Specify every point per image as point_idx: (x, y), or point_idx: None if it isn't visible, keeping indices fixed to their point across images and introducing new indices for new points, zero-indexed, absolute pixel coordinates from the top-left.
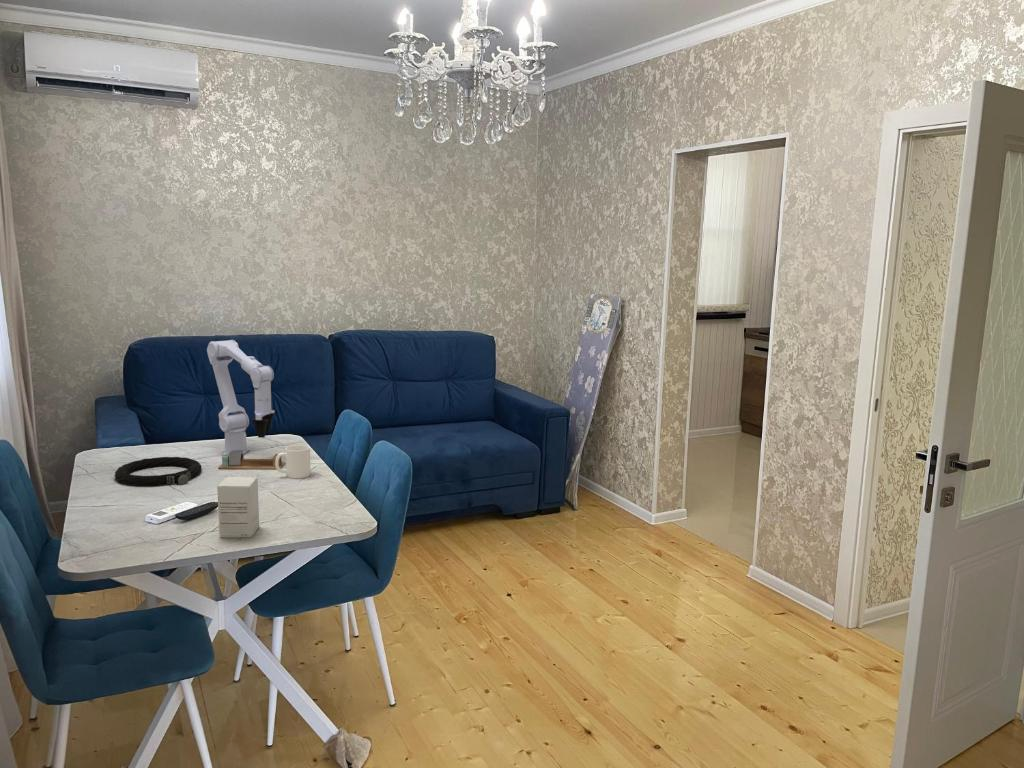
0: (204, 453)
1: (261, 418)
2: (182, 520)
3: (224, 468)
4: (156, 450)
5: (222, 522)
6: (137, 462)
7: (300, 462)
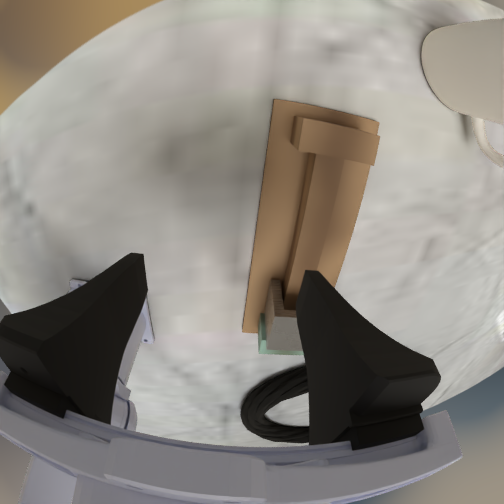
0: (139, 369)
1: (448, 423)
2: None
3: None
4: (140, 417)
5: None
6: (280, 438)
7: None
